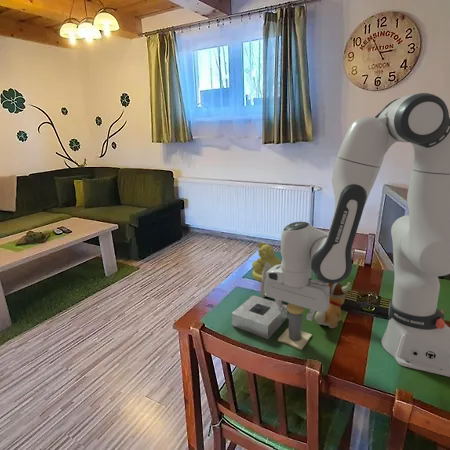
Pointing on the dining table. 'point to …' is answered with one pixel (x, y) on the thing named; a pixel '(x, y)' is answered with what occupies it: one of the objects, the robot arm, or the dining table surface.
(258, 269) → the figurine
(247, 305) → the housing
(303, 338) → the coaster
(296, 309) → the plug
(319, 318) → the toy
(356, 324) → the dining table surface
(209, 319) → the dining table surface
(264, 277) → the stone tool
